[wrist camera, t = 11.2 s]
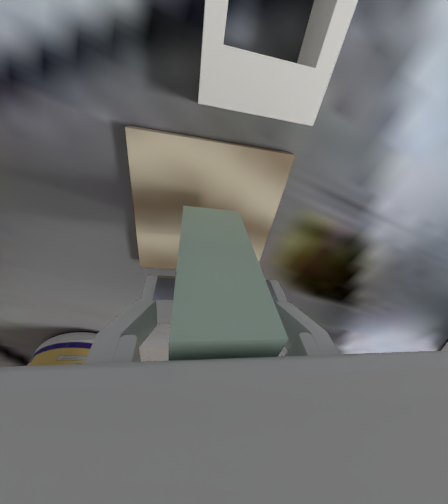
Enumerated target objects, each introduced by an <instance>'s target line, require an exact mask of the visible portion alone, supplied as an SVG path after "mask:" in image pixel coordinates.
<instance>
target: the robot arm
mask: <svg viewBox="0 0 448 504" xmlns="http://www.w3.org/2000/svg"><path fill="white" fill-rule="evenodd" d="M175 279H176V277H173V276H153V275H148V276H147V277H146V281H145V285H144V288H143V292H142V296H141V299H140V300H136V301H135V302H134V303H133V304H132V305H130V306H129V307H128V308H127V309H126V310H125V311H123V312H122V313H121V314H120V315H119V316H117V317H116V318H115V319H114V320H113V321H112V322H110V323H109V324H108V325H107V326H106V327H104V328H103V329H102V330H101V331H100V332H99V333H97V334H96V337H95V339H94V342H93V344H92V346H91V349H90V351H89V353H88V356H87V358H86V360H85V363H84V364H65V365H37V366H9V367H0V504H448V342H447V343H446V344H445V346H444V347H443V348H442V350H441V351H419V352H392V353H365V354H339V352H338V351H337V349H336V347H335V345H334V343H333V342H332V340H331V338H330V336H329V335H328V333H327V331H325V330H324V329H323V328H322V327H320V326H319V325H318V324H317V323H315V322H314V321H313V320H312V319H310V318H309V317H308V316H307V315H305V314H304V313H303V312H302V311H300V310H299V309H298V308H297V307H296V306H294V305H293V304H292V303H291V302H288V301H287V299H286V297H285V295H284V293H283V291H282V288H281V286H280V284H279V282H278V281H277V280H266V283H267V285H268V288H269V291H270V293H271V296H272V298H273V301H274V303H275V306H276V309H277V311H278V314H279V316H280V319H281V321H282V324H283V327H284V329H285V332H286V334H287V337H288V341H287V342H286V344H285V345H284V346H285V347H286V348H287V349H288V352H287V353H286V355H285V356H283V357H256V358H229V359H202V360H175V361H147V362H141V358H140V352H139V347H140V346H141V344H142V343H143V342H144V341H145V339H146V338H147V337H148V336H149V334H150V333H151V332H152V331H153V329H154V328H155V327H156V326H157V324H168V323H171V316H172V307H173V298H174V288H175Z"/></svg>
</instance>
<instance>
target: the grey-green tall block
mask: <svg viewBox="0 0 448 504" xmlns="http://www.w3.org/2000/svg"><path fill="white" fill-rule="evenodd" d="M287 341H288V337H287V334H286V332H285V329H284V327H283V324H282V321H281V319H280V316H279V314H278V311H277V309H276V306H275V303H274V301H273V298H272V296H271V293H270V291H269V288H268V285H267V283H266V280H265V278H264V275H263V273H262V270H261V267H260V265H259V262H258V260H257V257H256V254H255V252H254V249H253V247H252V244H251V242H250V239H249V236H248V234H247V231H246V229H245V226H244V224H243V221H242V218H241V216H240V213H239V211H231V210H221V209H212V208H202V207H192V206H183V214H182V224H181V233H180V242H179V251H178V261H177V270H176V279H175V288H174V298H173V307H172V316H171V325H170V335H169V361H175V360H202V359H229V358H256V357H277V356H278V355H279V353H280V352H281V350H282V348H283V347H284V345H285V344H286V342H287Z"/></svg>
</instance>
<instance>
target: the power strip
mask: <svg viewBox="0 0 448 504" xmlns="http://www.w3.org/2000/svg"><path fill="white" fill-rule="evenodd" d="M357 2H358V0H314V3H313V6H312V10H311V13H310V17H309V21H308V24H307V28H306V32H305V35H304V39H303V43H302V46H301V50H300V53H299V57H298V61H297V63H293V62H290V61H286V60H282V59H278V58H274V57H270V56H266V55H262V54H258V53H254V52H251V51H247V50H243V49H239V48H235V47H231V46H227V45H223V43H224V34H225V25H226V16H227V7H228V0H205V5H204V20H203V34H202V49H201V63H200V78H199V93H198V104H203V105H209V106H214V107H219V108H224V109H229V110H234V111H239V112H244V113H249V114H254V115H259V116H264V117H269V118H275V119H280V120H285V121H290V122H295V123H300V124H305V125H310V126H313V125H314V122H315V119H316V116H317V113H318V111H319V108H320V105H321V102H322V99H323V97H324V94H325V91H326V88H327V86H328V83H329V80H330V77H331V74H332V72H333V69H334V66H335V63H336V60H337V58H338V55H339V52H340V49H341V46H342V44H343V41H344V38H345V35H346V33H347V30H348V27H349V24H350V21H351V19H352V16H353V13H354V10H355V7H356V5H357Z"/></svg>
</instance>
